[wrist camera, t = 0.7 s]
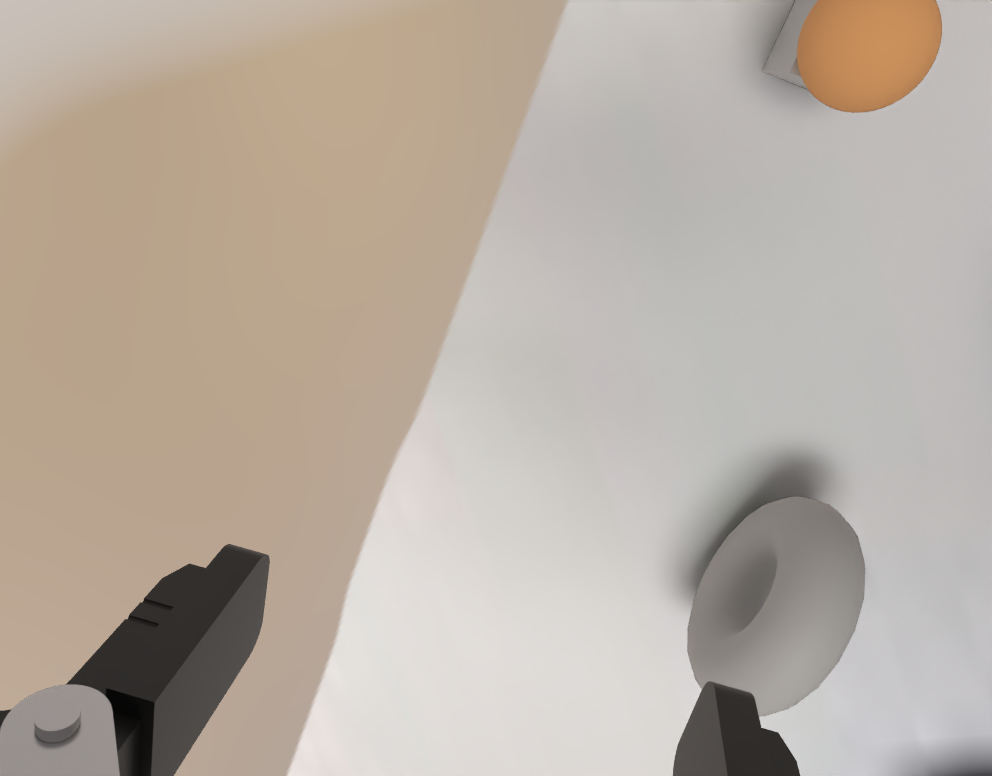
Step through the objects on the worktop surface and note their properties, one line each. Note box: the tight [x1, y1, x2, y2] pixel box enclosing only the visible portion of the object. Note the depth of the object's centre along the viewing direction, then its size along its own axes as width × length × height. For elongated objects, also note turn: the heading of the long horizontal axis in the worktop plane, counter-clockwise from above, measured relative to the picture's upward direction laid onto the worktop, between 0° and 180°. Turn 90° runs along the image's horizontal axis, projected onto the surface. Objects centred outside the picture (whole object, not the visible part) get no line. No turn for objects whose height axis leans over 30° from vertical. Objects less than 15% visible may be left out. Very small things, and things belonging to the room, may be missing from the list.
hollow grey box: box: [762, 0, 818, 89], centre depth 28 cm, size 3×3×5 cm
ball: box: [797, 0, 942, 113], centre depth 24 cm, size 4×4×4 cm
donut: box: [687, 497, 865, 716], centre depth 34 cm, size 10×3×10 cm, turn 152°
